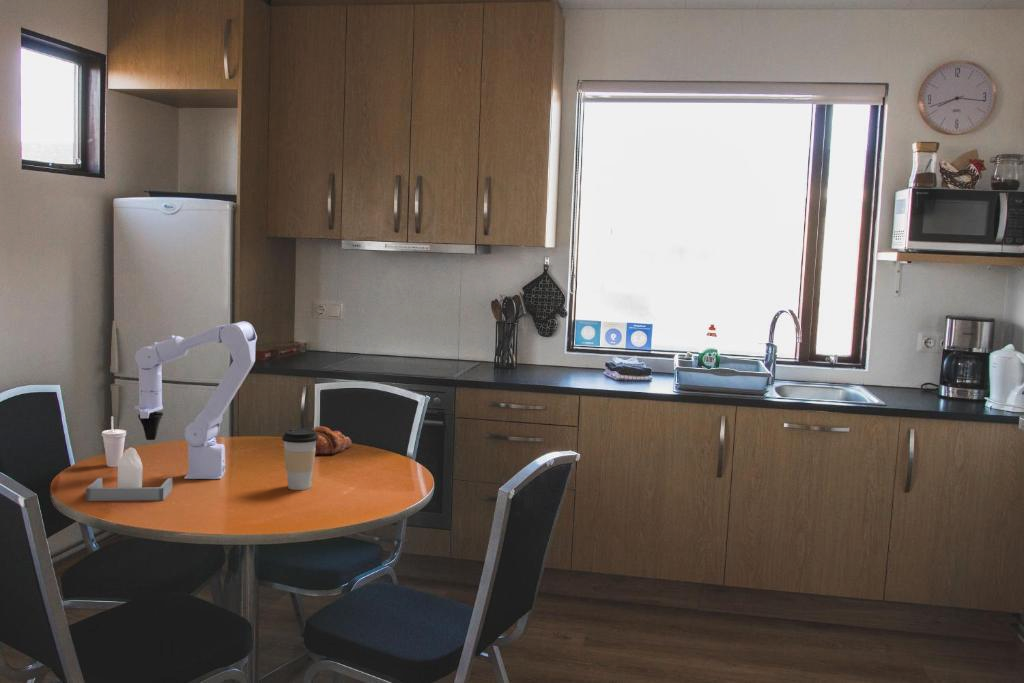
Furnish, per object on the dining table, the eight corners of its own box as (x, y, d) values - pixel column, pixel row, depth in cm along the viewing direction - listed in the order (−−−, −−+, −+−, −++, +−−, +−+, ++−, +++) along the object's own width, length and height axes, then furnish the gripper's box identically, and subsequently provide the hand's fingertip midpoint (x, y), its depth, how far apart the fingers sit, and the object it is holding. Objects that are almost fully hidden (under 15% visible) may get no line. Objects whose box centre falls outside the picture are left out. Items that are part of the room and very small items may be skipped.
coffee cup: (279, 483, 242) (279, 428, 241) (315, 481, 246) (315, 427, 244) (283, 493, 233) (284, 435, 232) (320, 490, 237) (321, 434, 235)
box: (172, 489, 233) (172, 478, 233) (163, 500, 224) (163, 488, 223) (98, 489, 231) (98, 478, 230) (86, 500, 221) (85, 488, 220)
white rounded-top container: (131, 443, 231) (147, 446, 229) (132, 489, 232) (147, 492, 230) (112, 447, 226) (128, 450, 223) (112, 494, 227) (128, 498, 224)
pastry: (304, 445, 289) (304, 420, 288) (352, 446, 290) (352, 421, 289) (294, 457, 273) (294, 431, 272) (345, 458, 274) (346, 432, 273)
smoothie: (96, 465, 254) (96, 416, 252) (116, 461, 259) (115, 413, 258) (112, 469, 251) (111, 419, 249) (131, 464, 256) (131, 416, 255)
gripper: (141, 385, 252) (142, 433, 254) (127, 394, 238) (128, 445, 239) (168, 386, 253) (168, 433, 255) (156, 394, 239) (156, 445, 240)
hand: (151, 439), depth 247 cm, fingers closed
